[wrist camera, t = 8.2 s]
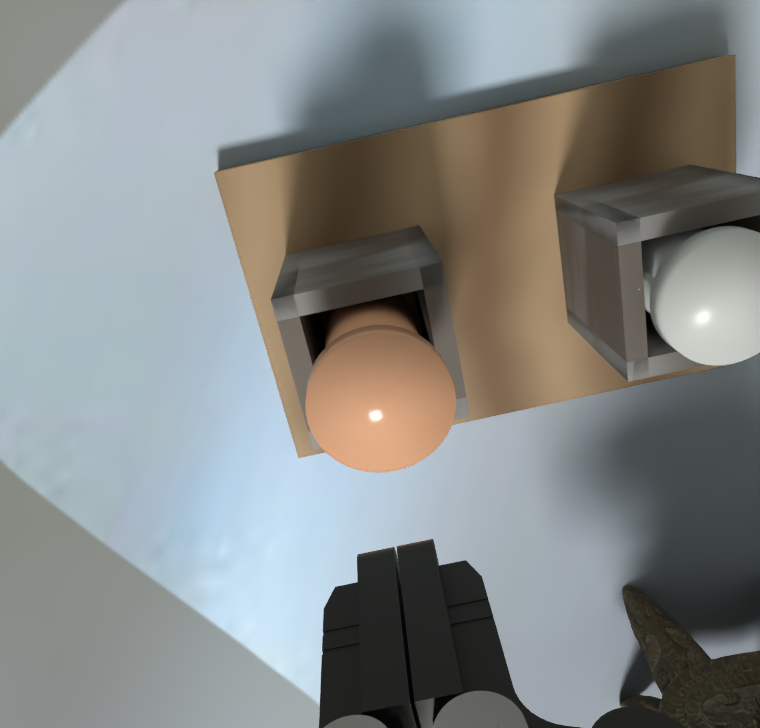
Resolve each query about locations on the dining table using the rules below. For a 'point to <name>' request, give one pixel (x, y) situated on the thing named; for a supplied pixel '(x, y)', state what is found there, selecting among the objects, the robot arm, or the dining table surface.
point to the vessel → (692, 672)
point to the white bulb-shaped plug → (705, 292)
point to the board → (497, 236)
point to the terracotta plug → (378, 388)
